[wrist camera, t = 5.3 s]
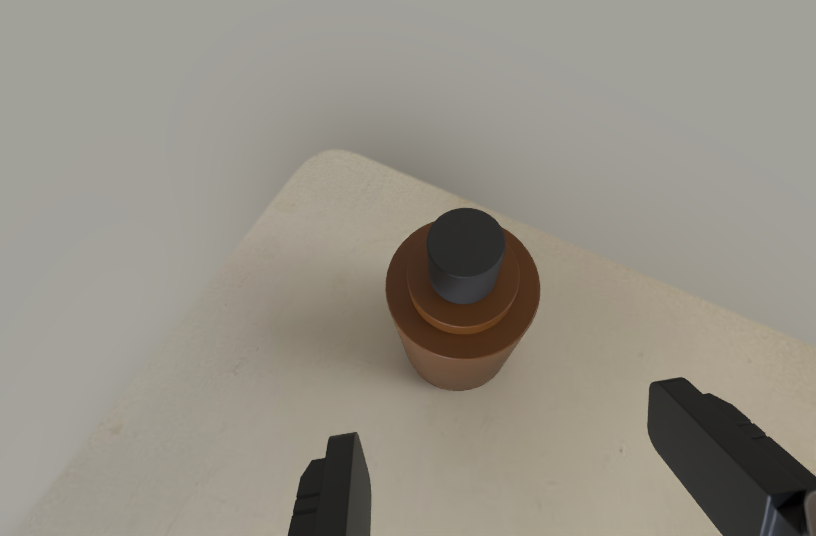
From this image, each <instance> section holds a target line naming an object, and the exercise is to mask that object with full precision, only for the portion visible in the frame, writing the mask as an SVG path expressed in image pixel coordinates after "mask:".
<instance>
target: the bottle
mask: <svg viewBox="0 0 816 536" xmlns="http://www.w3.org/2000/svg"><path fill="white" fill-rule="evenodd" d="M386 298H387V303H388V306H389V310H390V312H391V315H392V317H393V320H394V322H395V325H396V327H397V330H398V332H399V335H400V337H401V340H402V343H403V345H404V348H405V350H406V353H407V355H408V358H409V360H410V362H411V364H412V365H413V367H414V368H415V370H416V371H417V372H418V373H419V374H420V375H421V376H422V377H423V378H424V379H425V380H427V381H428V382H430V383H431V384H433V385H435V386H437V387H440V388H443V389H447V390H453V391H464V390H470V389H473V388H477V387H479V386H481V385H483V384H485V383H486V382H488V381H489V380H491V379H492V378H493V377H494V376H495V375H496V374H497V373H498V372H499V370H500V369H501V367H502V366H503V364H504V363H505V361H506V360H507V358H508V357H509V356H510V354H511V353H512V351H513V350H514V348H515V347H516V345H517V344H518V342H519V341H520V339H521V338H522V337H523V335H524V334H525V332H526V331H527V329H528V328H529V326H530V325H531V323H532V321H533V319H534V317H535V315H536V312H537V309H538V305H539V299H540V281H539V275H538V272H537V268H536V265H535V263H534V261H533V259H532V257H531V255H530V254H529V252H528V250H527V249H526V248H525V247H524V245H523V244H522V243H521V242H520V241H519V240H518V239H517V238H516V237H515V236H514V235H513V234H511V233H510V232H509V231H507V230H506V229H504V228H502V227H501V226H500V225H499V224H498V222H497V221H496V220H495V219H494V218H493V217H491V216H490V215H489V214H487V213H485V212H483V211H480V210H477V209H472V208H459V209H454V210H451V211H449V212H446V213H445V214H443V215H441V216H440V217H439V218H438V219H437V220H436V221H434V222H431V223H429V224H427V225H425V226H423V227H421V228H419V229H418V230H416V231H415V232H414V233H412V234H411V235H410V236H409V237H408V238H407V239H406V240H405V241H404V242H403V243H402V244H401V245H400V247H399V248H398V249H397V251H396V253H395V254H394V256H393V258H392V260H391V262H390V265H389V268H388V272H387V277H386Z"/></svg>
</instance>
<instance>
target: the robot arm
mask: <svg viewBox="0 0 816 536" xmlns="http://www.w3.org/2000/svg"><path fill="white" fill-rule="evenodd" d="M647 428H648V434H649V437H650V440H651V442H652V444H653V446H654V448H655V450H656V451H657V452H658V454H659V455H660V456H661V457H662V459H663V460H664V461H665V463H666V464H667V465H668V466H669V468H670V469H671V470H672V471H673V473H674V474H675V475H676V477H677V478H678V479H679V480H680V482H681V483H682V484H683V486H684V487H685V488H686V489H687V491H688V492H689V493H690V494H691V496H692V497H693V498H694V500H695V501H696V502H697V503H698V505H699V506H700V507H701V508H702V510H703V511H704V512H705V514H706V515H707V516H708V517H709V519H710V520H711V521H712V523H713V524H714V525H715V526H716V528H717V529H718V530H719V531H720V533H721V534H722V535H723V536H816V477H815V476H814V475H813V474H812V473H811V472H810V471H809V470H807V469H806V468H805V467H804V466H803V465H802V464H800V463H799V462H798V461H797V460H796V459H795V458H794V457H792V456H791V455H790V454H789V453H788V452H787V451H785V450H784V449H783V448H782V447H781V446H780V445H778V444H777V443H776V442H775V441H774V440H773V439H772V438H770V437H767V436H766V434H765V432H763V431H762V430H761V429H760V428H759V427H758V426H757V425H755V424H754V423H753V424H752V423H751V420H750V419H748V418H747V417H746V416H745V415H744V414H743V413H741V412H740V411H739V410H738V409H737V408H736V407H735V406H733V405H732V404H730V403H728V402H726V401H724V400H722V399H720V398H718V397H716V396H714V395H712V394H710V393H708V394H702V393H701V392H700V391H699V390H698V389H697V388H696V387H694V386H693V385H692V384H691V383H690V382H689V381H688V380H686V379H685V378H682V377H679V378H673V379H667V380H661V381H655V382H652V383H651V384H650V387H649V404H648V423H647ZM296 497H297V500H296V501H295V505H294V510H293V516H292V519H291V523H290V528H289V532H288V536H370V525H371V484H370V477H369V472H368V468H367V465H366V461H365V457H364V453H363V450H362V446H361V442H360V439H359V435H358V433H357V432H353V433H347V434H341V435H335V436H330V437H329V439H328V445H327V451H326V457H325V458H322V459H316V460H312V461H311V462H310V464H309V465H308V467H307V469H306V470H305V472H304V473H303V475H302V476H301V478H300V483H299V487H298V492H297V496H296Z"/></svg>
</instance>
